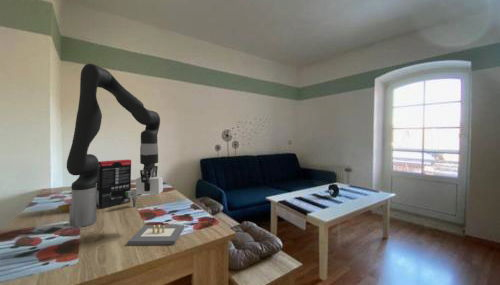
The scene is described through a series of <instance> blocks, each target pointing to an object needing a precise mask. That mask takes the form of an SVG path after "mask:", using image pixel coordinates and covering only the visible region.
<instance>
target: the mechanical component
mask: <svg viewBox="0 0 500 285" xmlns="http://www.w3.org/2000/svg"><path fill="white" fill-rule="evenodd" d="M125 195H126V197H128V198H130V199H131V200H132V207H133V208H136V207H137V200H138V197H140V196H142V195H143V194H136V189H131V190H130V191H126V192H125Z"/></svg>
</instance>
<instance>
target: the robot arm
mask: <svg viewBox="0 0 500 285" xmlns="http://www.w3.org/2000/svg"><path fill="white" fill-rule="evenodd" d="M79 80H80V82H79V99H78V107H77V113H76V118H75V126H74V133H73V137H72V141H71V142H72V143H71V146H70V149H69V154H68V157H67V160H66V170H67V171H68V173H69V174H70V175H71V176H78V178H77V179H76V180H75V181H73V182H72V183H71V189H70V190H71V203H72V205H70V206H69V212H68V214H69V221H68V222H69V226H70V227H73V228H81V227H87V226H90V225H93V224H94V223H96V222H97V206H96V189H97V181H98V175H99V159H98V158H97V156H96V155H95V154H92V153H91V154H90V153H88V150H89V147H90V145H91V143H92V142H93V140H94V139H95V138H96V136H97V135H98V133H99V131H100V129H101V126H102V119H103V115H102V114H103V113H102V111H101V107H100V104H99V102H98V98H97V92H98V88H99V89H100V88H101V89H103V90H105V91H107V92H108V93H110V94H111V95H113V97H114V98H115V100H116V101H117V103H118V104H119V105H120V106H121V107H122V108H123V109H125V110H126V111H128V112H129V113H130V114H131V115H132V117H133V118H134V119H135V120H136V122H138V123H139V124H141V125H143V126H145V129H144V130H142V131H141V133H140V147H139V156H140V159H139V162H140V163H139V164H141V165H143V168H142V169H140V170H139V173H140V177H141V182H142V183H144V191H150V178H151V177H158V169H159V167H158V165H157V164H158V163H159V146H158V133H159V129H160V125H161V118H160V115H159V113H158V112H157V111H154V110H150V109H147V108H146V107H145V106H144V103H143V102H142V101H141V100H140V99H138V98H137V97H136V96H135V95H133V94H132V93H131V92H130V91H128V90H127V89H126V88H125V87H123V85H122V84H121V83H120V82H119V81H118V80H117V79H116V78H115V77H114V75H112V73H111V72H110V71H109V70H107V69H106V68H103V67H100V66H99V65H96V64H94V63H86V64H85V65H84V66H83V67H82V69H81V72H80V79H79ZM143 178H144V179H143Z"/></svg>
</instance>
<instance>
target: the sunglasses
mask: <svg viewBox="0 0 500 285" xmlns="http://www.w3.org/2000/svg"><path fill="white" fill-rule="evenodd" d="M70 205H72V202H71V203H64V204H60V205H58V206H57V208H58V212H59V213H69V206H70Z"/></svg>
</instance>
